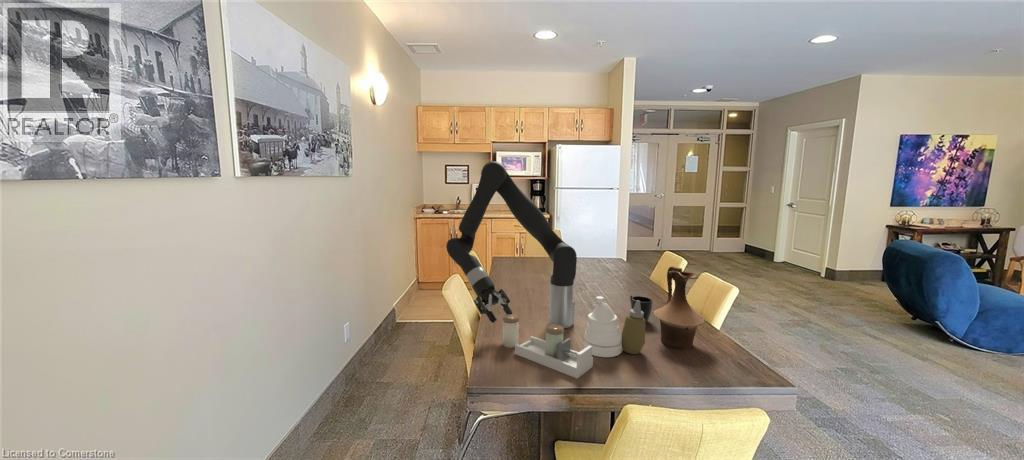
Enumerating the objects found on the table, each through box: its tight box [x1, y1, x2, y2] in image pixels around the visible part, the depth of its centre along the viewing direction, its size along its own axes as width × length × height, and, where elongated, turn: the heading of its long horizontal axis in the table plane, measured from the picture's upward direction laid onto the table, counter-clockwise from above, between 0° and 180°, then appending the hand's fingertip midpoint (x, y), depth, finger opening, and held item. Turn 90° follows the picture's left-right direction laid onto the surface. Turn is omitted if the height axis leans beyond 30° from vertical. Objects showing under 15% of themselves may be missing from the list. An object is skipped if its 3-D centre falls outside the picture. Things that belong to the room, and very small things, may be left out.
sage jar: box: [545, 324, 565, 358], centre depth 124 cm, size 6×6×10 cm
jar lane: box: [514, 335, 594, 379], centre depth 124 cm, size 24×10×7 cm, turn 50°
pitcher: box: [653, 265, 706, 350], centre depth 138 cm, size 18×17×28 cm
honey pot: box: [583, 295, 623, 358], centre depth 132 cm, size 13×13×18 cm
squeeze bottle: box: [621, 300, 647, 355], centre depth 131 cm, size 8×8×18 cm
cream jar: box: [502, 313, 520, 349], centre depth 135 cm, size 6×6×10 cm
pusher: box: [556, 337, 576, 361], centre depth 120 cm, size 5×7×6 cm
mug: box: [629, 294, 653, 323], centre depth 161 cm, size 8×12×10 cm
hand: (502, 318), depth 137 cm, fingers open, 8 cm apart
